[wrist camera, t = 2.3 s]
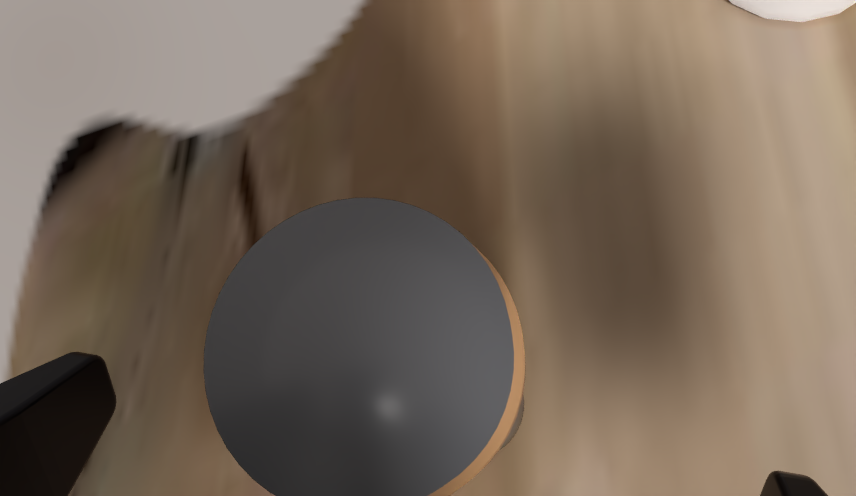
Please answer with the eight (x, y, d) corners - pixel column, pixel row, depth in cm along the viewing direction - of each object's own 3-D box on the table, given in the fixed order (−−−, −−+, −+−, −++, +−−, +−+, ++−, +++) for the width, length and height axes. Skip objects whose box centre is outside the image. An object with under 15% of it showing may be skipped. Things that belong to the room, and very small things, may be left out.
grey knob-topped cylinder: (493, 484, 17) (415, 605, 5) (393, 424, 17) (132, 413, 6) (547, 379, 17) (585, 276, 6) (448, 325, 18) (303, 138, 6)
